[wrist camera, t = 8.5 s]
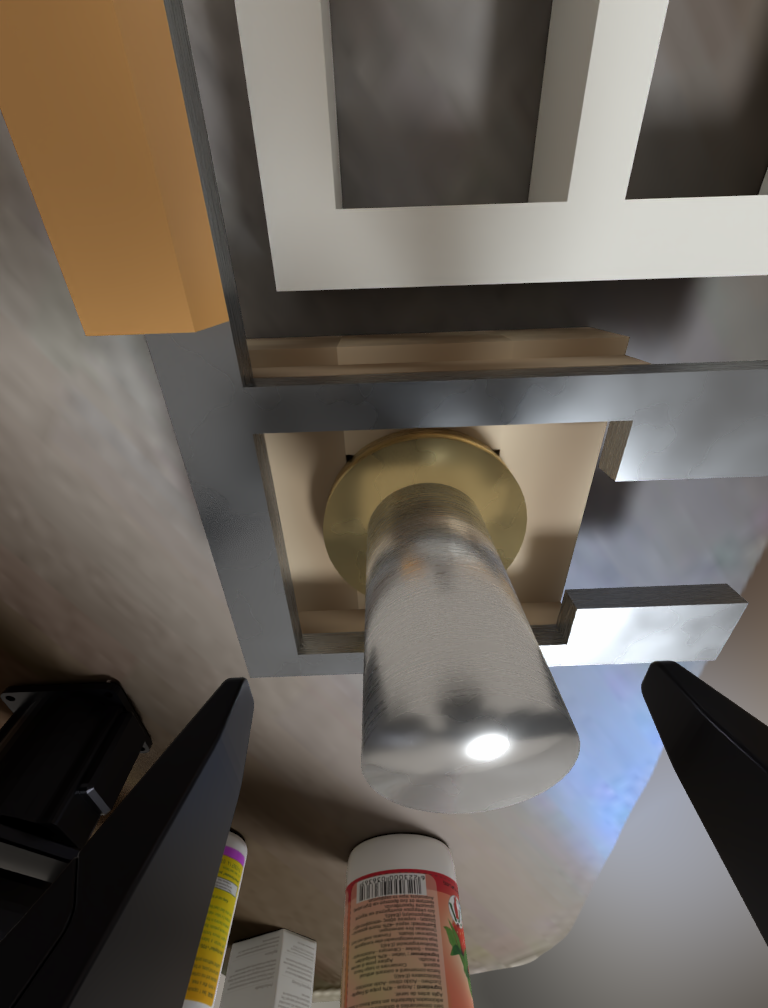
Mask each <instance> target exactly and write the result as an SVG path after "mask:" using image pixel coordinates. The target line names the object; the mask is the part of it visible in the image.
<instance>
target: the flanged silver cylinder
mask: <svg viewBox="0 0 768 1008" xmlns="http://www.w3.org/2000/svg"><path fill="white" fill-rule="evenodd" d="M526 526H527V508H526V503H525V499H524V495H523V493H522V491H521V488H520V486H519V484H518V482H517V481H516V479H515V478H514V476H513V474H512V473H511V472H510V470H509V469H508V467H507V466H506V464H505V463H504V462H503V460H502V459H501V458H500V457H499V456H498V455H497V454H496V453H495V452H494V451H493V450H492V449H491V448H490V447H488V446H487V445H486V444H484V443H482V442H481V441H479V440H478V439H476V438H474V437H471V436H469V435H467V434H465V433H461V432H458V431H455V430H451V429H444V428H436V427H434V428H410V429H406V430H401V431H397V432H394V433H391V434H388V435H385V436H383V437H381V438H379V439H377V440H375V441H373V442H371V443H369V444H368V445H366V446H365V447H364V448H362V449H361V450H359V451H358V452H357V453H356V454H355V455H354V456H353V457H351V458H350V459H349V460H348V462H347V463H346V464H345V465H344V466H343V468H342V469H341V470H340V472H339V474H338V475H337V477H336V478H335V480H334V483H333V485H332V487H331V489H330V493H329V496H328V500H327V505H326V510H325V515H324V523H323V536H324V542H325V547H326V550H327V553H328V556H329V558H330V560H331V562H332V564H333V566H334V567H335V569H336V570H337V571H338V573H339V574H340V575H341V577H342V578H343V579H344V580H345V581H346V582H347V583H348V584H349V585H351V586H352V587H353V588H355V589H356V590H357V591H359V592H361V593H362V594H364V595H366V596H365V635H364V674H363V714H362V753H361V768H362V772H363V775H364V777H365V779H366V781H367V782H368V784H369V785H370V786H371V787H372V788H373V789H374V790H375V791H376V792H377V793H379V794H380V795H382V796H383V797H385V798H386V799H388V800H390V801H392V802H394V803H397V804H399V805H402V806H405V807H408V808H412V809H416V810H421V811H426V812H435V813H449V814H451V813H475V812H482V811H489V810H494V809H499V808H503V807H507V806H511V805H514V804H517V803H520V802H523V801H525V800H528V799H530V798H532V797H535V796H537V795H539V794H541V793H543V792H544V791H546V790H548V789H549V788H551V787H552V786H554V785H555V784H556V783H558V782H559V781H560V780H561V779H562V778H563V777H564V776H566V775H567V774H568V772H569V771H570V770H571V768H572V767H573V766H574V764H575V762H576V760H577V758H578V755H579V751H580V740H579V736H578V733H577V731H576V728H575V726H574V724H573V722H572V719H571V717H570V715H569V713H568V710H567V708H566V706H565V703H564V701H563V699H562V697H561V694H560V692H559V690H558V688H557V685H556V683H555V681H554V679H553V676H552V674H551V672H550V670H549V667H548V665H547V663H546V661H545V658H544V656H543V654H542V652H541V649H540V647H539V645H538V642H537V640H536V638H535V636H534V633H533V631H532V629H531V627H530V624H529V622H528V620H527V618H526V615H525V613H524V611H523V609H522V606H521V604H520V602H519V600H518V597H517V595H516V593H515V590H514V588H513V586H512V584H511V581H510V579H509V577H508V575H507V572H506V570H507V569H508V567H509V566H510V565H511V564H512V562H513V561H514V559H515V557H516V556H517V554H518V552H519V550H520V548H521V546H522V543H523V540H524V537H525V533H526Z"/></svg>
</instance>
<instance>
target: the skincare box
mask: <svg viewBox="0 0 768 1008" xmlns="http://www.w3.org/2000/svg"><path fill="white" fill-rule="evenodd" d="M316 945H317V944H316V941H314V940H311V939H309V938H306V937H304V936H301V935H299V934H296V933H294V932H291V931H289V930H286V929H281V930H278V931H274V932H271V933H268V934H264V935H261V936H258V937H254V938H251V939H248V940H245V941H241V942H238V943H234V944H233V945H232V950H231V954H230V959H229V964H228V968H227V973H226V979H225V983H224V988H223V993H222V998H221V1003H220V1007H219V1008H311V1004H312V991H313V980H314V968H315V956H316Z"/></svg>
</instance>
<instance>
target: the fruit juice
mask: <svg viewBox="0 0 768 1008" xmlns="http://www.w3.org/2000/svg"><path fill="white" fill-rule="evenodd" d="M340 1008H474V1007H473V998H472V991H471V984H470V976H469V969H468V961H467V954H466V947H465V939H464V932H463V924H462V917H461V910H460V902H459V895H458V887H457V880H456V873H455V867H454V862H453V858H452V855H451V852H450V850H449V848H448V847H447V846H446V845H445V844H444V843H442V842H441V841H439V840H437V839H434V838H431V837H428V836H423V835H417V834H391V835H384V836H379V837H375V838H372V839H369V840H367V841H364V842H362V843H361V844H359V845H358V846H356V847H355V848H354V849H353V850H352V852H351V854H350V856H349V860H348V865H347V872H346V891H345V912H344V934H343V955H342V977H341V999H340Z"/></svg>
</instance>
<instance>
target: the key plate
mask: <svg viewBox="0 0 768 1008" xmlns="http://www.w3.org/2000/svg"><path fill="white" fill-rule="evenodd" d="M0 109H1V112H2V114H3V117H4V120H5V122H6V125H7V128H8V130H9V133H10V136H11V138H12V141H13V144H14V146H15V149H16V152H17V154H18V157H19V160H20V162H21V165H22V167H23V170H24V173H25V175H26V178H27V181H28V183H29V186H30V189H31V191H32V194H33V197H34V199H35V202H36V205H37V207H38V210H39V212H40V215H41V218H42V220H43V223H44V226H45V228H46V231H47V234H48V236H49V239H50V242H51V244H52V247H53V250H54V252H55V255H56V258H57V260H58V263H59V265H60V268H61V271H62V273H63V276H64V279H65V281H66V284H67V287H68V289H69V292H70V295H71V297H72V300H73V303H74V305H75V308H76V311H77V313H78V316H79V318H80V321H81V324H82V326H83V329H84V332H85V334H86V336H103V335H132V334H144V335H145V338H146V341H147V344H148V348H149V351H150V354H151V357H152V361H153V364H154V367H155V370H156V374H157V377H158V380H159V383H160V387H161V390H162V393H163V396H164V400H165V403H166V406H167V409H168V412H169V416H170V419H171V422H172V425H173V429H174V432H175V435H176V438H177V442H178V445H179V448H180V451H181V455H182V458H183V461H184V464H185V468H186V471H187V474H188V477H189V481H190V484H191V487H192V490H193V494H194V497H195V500H196V503H197V507H198V510H199V513H200V516H201V520H202V523H203V526H204V529H205V532H206V536H207V539H208V542H209V545H210V549H211V552H212V555H213V558H214V562H215V565H216V568H217V571H218V575H219V578H220V581H221V584H222V588H223V591H224V594H225V597H226V601H227V604H228V607H229V610H230V614H231V617H232V620H233V623H234V627H235V630H236V633H237V636H238V640H239V643H240V646H241V649H242V652H243V656H244V659H245V662H246V665H247V669H248V672H249V675H250V678H258V677H285V676H311V675H337V674H364V635H365V631H362V632H335V633H308V634H302V631H301V625H300V620H299V615H298V610H297V604H296V599H295V594H294V588H293V583H292V578H291V573H290V567H289V562H288V557H287V552H286V546H285V541H284V536H283V531H282V525H281V520H280V515H279V510H278V504H277V499H276V494H275V488H274V483H273V478H272V473H271V467H270V462H269V457H268V452H267V446H266V441H265V436H264V434H265V433H293V432H321V431H349V430H378V429H406V428H434V427H462V426H491V425H519V424H547V423H575V422H604V421H610V424H609V428H608V432H607V436H606V439H605V443H604V447H603V451H602V454H601V458H600V462H599V466H598V467H599V468H600V469H601V470H602V471H604V472H605V473H606V474H607V475H608V476H609V477H611V478H612V479H613V480H614V481H615V482H617V481H645V480H672V479H700V478H728V477H756V476H768V360H763V361H735V362H706V363H677V364H649V365H620V366H591V367H563V368H534V369H505V370H476V371H448V372H419V373H390V374H362V375H333V376H304V377H276V378H253V373H252V367H251V362H250V357H249V352H248V346H247V341H246V336H245V331H244V325H243V320H242V315H241V310H240V304H239V299H238V294H237V288H236V283H235V278H234V273H233V267H232V262H231V257H230V252H229V246H228V241H227V236H226V231H225V225H224V220H223V215H222V210H221V204H220V199H219V194H218V188H217V183H216V178H215V173H214V167H213V162H212V157H211V152H210V146H209V141H208V136H207V131H206V125H205V120H204V115H203V110H202V104H201V99H200V94H199V88H198V83H197V78H196V73H195V67H194V62H193V57H192V52H191V46H190V41H189V36H188V31H187V25H186V20H185V15H184V10H183V4H182V0H0ZM747 605H748V602H747V601H746V600H745V599H744V598H742V597H741V596H740V595H739V594H738V593H737V592H736V591H735V590H733V589H732V588H731V587H730V586H729V585H728V584H705V585H678V586H651V587H624V588H597V589H570V590H565V594H564V597H563V601H562V605H561V609H560V612H559V616H558V620H557V624H549V625H530V627H531V629H532V631H533V633H534V636H535V638H536V640H537V642H538V645H539V647H540V649H541V652H542V654H543V656H544V658H545V661H546V663H547V665H548V667H549V666H575V665H601V664H628V663H652V662H654V661H665V660H669V661H674V662H681V661H707V660H715V659H716V658H717V656H718V655H719V653H720V651H721V649H722V647H723V646H724V644H725V643H726V641H727V639H728V638H729V636H730V634H731V632H732V631H733V629H734V627H735V626H736V624H737V622H738V620H739V619H740V617H741V615H742V614H743V612H744V610H745V609H746V607H747Z"/></svg>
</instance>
